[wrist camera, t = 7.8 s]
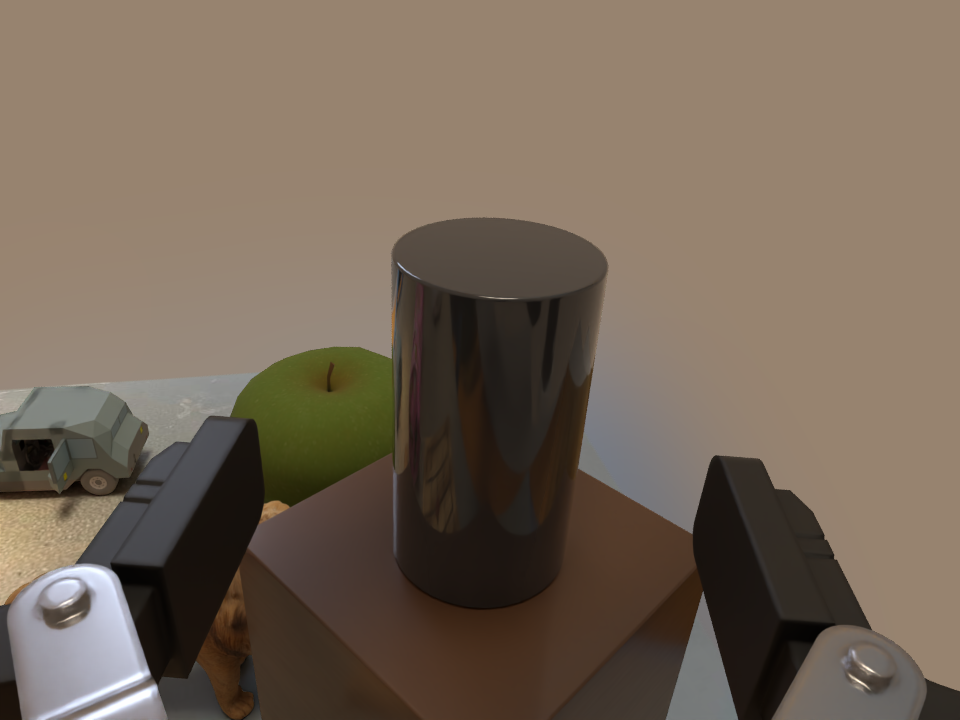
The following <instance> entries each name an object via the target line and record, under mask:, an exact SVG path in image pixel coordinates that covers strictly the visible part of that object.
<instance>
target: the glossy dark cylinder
mask: <svg viewBox="0 0 960 720" xmlns="http://www.w3.org/2000/svg"><path fill="white" fill-rule="evenodd" d="M391 254H392V255H391V257H392V258H391V261H392V262H391V263H392V264H391V267H392V269H391V270H392V272H391V274H392V461H393V549H394V555H395V557H396V560H397V563H398V564H399V566H400V568H401V570H402V571H403V573H404V574H405V575H406V576H407V578H408V579H409V580H410V581H411V582H412V583H413V584H414V585H415V586H417V587H418V588H419V589H421V590H422V591H424V592H425V593H427V594H429V595H430V596H432V597H434V598H436V599H439V600H441V601H444V602H446V603H450V604H454V605H457V606H463V607H468V608H498V607H505V606H509V605H513V604H517V603H519V602H522V601H525V600H527V599H529V598H531V597H533V596H535V595H537V594H538V593H539V592H541V591H542V590H544V589H545V588H546V587H547V586H548V585H549V584H550V583H551V582H552V581H553V580H554V578H555V577H556V576H557V574H558V573H559V571H560V569H561V567H562V564H563V560H564V556H565V550H566V543H567V536H568V530H569V523H570V517H571V510H572V504H573V497H574V491H575V484H576V478H577V471H578V465H579V458H580V452H581V445H582V439H583V432H584V425H585V419H586V412H587V406H588V399H589V393H590V386H591V380H592V373H593V366H594V359H595V353H596V346H597V340H598V334H599V327H600V321H601V314H602V308H603V301H604V295H605V288H606V282H607V275H608V263H607V259H606V257H605V256H604V254H603V253H602V251H601V250H600V249H599V248H598V247H596V246H595V245H593V244H592V243H591V242H589V241H587V240H586V239H584V238H582V237H580V236H578V235H575V234H573V233H570V232H568V231H565V230H562V229H559V228H555V227H552V226H548V225H544V224H539V223H534V222H529V221H522V220H515V219H504V218H464V219H453V220H446V221H441V222H436V223H432V224H427V225H424V226H422V227H419V228H416V229H414V230H411V231H409V232H408V233H406V234H404V235H403V236H402V237H401V238H399V239H398V240H397V242H396V243H395V244H394V247H393V249H392V253H391Z"/></svg>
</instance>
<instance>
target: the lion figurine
mask: <svg viewBox="0 0 960 720" xmlns="http://www.w3.org/2000/svg"><path fill="white" fill-rule="evenodd" d="M288 508H290V507H289V506H288V505H286V504H283V503H281V502H280V501H271V502H269V503H266V504H264V506H263V511H262V515H261V519H260V521H259V524H261V523H262V522H264V521H266V520H268V519H270V518H272V517H274V516H275V515H277V514H279V513H281V512H283V511H285V510H287V509H288ZM259 524H258V525H259ZM44 574H46V573H44ZM44 574H42V575H44ZM42 575H40V576H42ZM40 576H38V577H37V578H39V577H40ZM37 578H35V579H34V580H36V579H37ZM34 580H33V581H34ZM30 583H31V582H30ZM30 583H27V584H25V585H22V586H21V587H19V588H18V589H17V590H15V591H14V592H13V593H12V594H11V595H10V596H9V598H8V599H7V600H6V602H5V604H4V605H7V604H11V603H12V602H13V600H14V599H15V597H16V596H17V595H18V594H19V593H20V592H21V591H22V590H23V589H24V588H25V587H26V586H27V585H29V584H30ZM248 655H252V651H251V645H250V638H249V631H248V624H247V618H246V611H245V604H244V598H243V591H242V584H241V578H240V571H239V567H238V570H237V572H236V574H235V576H234V578H233V580H232V583H231V585H230V587H229V589H228V591H227V594H226V596H225V598H224V600H223V602H222V604H221V607H220V609H219V611H218V613H217V615H216V617H215V620H214V622H213V624H212V626H211V628H210V631H209V633H208V635H207V637H206V639H205V641H204V644H203V646H202V648H201V650H200V652H199V654H198V657H197V659H196V661H197V662H198V663H199V664H200V665H201V667H202V668H203V669H204V670H205V671H206V673H207V675H208V677H209V679H210V681H211V684H212V686H213V688H214V691H215V695H216V698H217V700H218V703H219V705H220V707H221V708H222V710H223V711H224V712H225V713H226V714H227V715H228V716H229V717H230V718H232V719H236V720H237V719H242V718H244V717H245V716H247V715H248V714H249V713H250V712H251V711H252V709H253V707H254V701H253V694H252V693H251V692H244V691H242V688H241V686H240V685H238V683H239V679H240V665H241V664H242V663H243V662H244V660H245V658H246V657H247V656H248Z"/></svg>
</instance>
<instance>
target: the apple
mask: <svg viewBox="0 0 960 720" xmlns="http://www.w3.org/2000/svg"><path fill="white" fill-rule="evenodd" d="M230 417H236V418H249V419H254V420H255V422H256V424H257V428H258V435H259V443H260V452H261V460H262V469H263V477H264V486H265V498H264V503H265V504H266V503H269V502H271V501H280V502H281V503H283V504H286V505H288V506H289V507H292V506H294V505H296V504H298V503H300V502H301V501H303V500H305V499H307V498H309V497H311V496H313V495H314V494H316V493H318V492H320V491H322V490H324V489H326V488H327V487H329V486H331V485H333V484H335V483H337V482H339V481H340V480H342V479H344V478H346V477H348V476H350V475H352V474H353V473H355V472H357V471H359V470H361V469H363V468H365V467H366V466H368V465H370V464H372V463H374V462H376V461H378V460H379V459H381V458H383V457H385V456H387V455H389V454H391V453H392V359H390V358H388V357H385V356H382V355H380V354H377V353H374V352H371V351H369V350H365V349H363V348H360V347H330V348H324V349H316V350H310V351H306V352H303V353H300V354H297V355H294V356H291V357H287V358H285V359H283V360H281V361H278V362H276V363H274V364H272V365H271V366H270V367H268V368H267V369H265V370H264V371H262V372H261V373H259V374H258V375H257V376H255V377H254V378H252V379H251V380H250V382H249V383H248V384H247V386H246V387H245V388H244V389H243V391H242V392H241V393H240V394H239V396H238V397H237V400H236V403H235V405H234V408H233V411H232V413H231V416H230Z"/></svg>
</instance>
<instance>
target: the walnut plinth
mask: <svg viewBox="0 0 960 720" xmlns="http://www.w3.org/2000/svg"><path fill="white" fill-rule="evenodd" d="M239 571H240V578H241V584H242V591H243V598H244V604H245V611H246V618H247V624H248V631H249V638H250V645H251V651H252V658H253V665H254V671H255V678H256V685H257V691H258V698H259V705H260V712H261V718H262V720H666V716H667V713H668V709H669V706H670V702H671V699H672V696H673V692H674V689H675V685H676V682H677V678H678V675H679V672H680V668H681V665H682V661H683V658H684V654H685V651H686V647H687V644H688V641H689V637H690V634H691V630H692V627H693V623H694V620H695V616H696V613H697V610H698V606H699V602H700V599H701V596H702V592H703V588H702V584H701V581H700V577H699V573H698V570H697V566H696V562H695V558H694V553H693V534H691V533H689V532H687V531H685V530H684V529H682V528H681V527H678V526H677V525H675V524H673V523H672V522H670V521H668V520H666V519H665V518H663V517H661V516H660V515H658V514H656V513H654V512H653V511H651V510H649V509H647V508H646V507H644V506H642V505H641V504H639V503H637V502H635V501H634V500H632V499H630V498H628V497H627V496H625V495H623V494H621V493H620V492H618V491H616V490H615V489H613V488H611V487H609V486H608V485H606V484H604V483H602V482H601V481H599V480H597V479H595V478H594V477H592V476H590V475H588V474H587V473H585V472H583V471H581V470H580V469H578V471H577V478H576V484H575V491H574V497H573V504H572V510H571V517H570V523H569V530H568V536H567V543H566V550H565V556H564V560H563V564H562V567H561V569H560V571H559V573H558V574H557V576H556V577H555V578H554V580H553V581H552V582H551V583H550V584H549V585H548V586H547V587H546V588H545V589H544V590H542V591H541V592H539V593H538V594H537V595H535V596H533V597H531V598H529V599H527V600H525V601H522V602H519V603H517V604H513V605H509V606H505V607H498V608H468V607H463V606H457V605H454V604H450V603H446V602H444V601H441V600H439V599H436V598H434V597H432V596H430V595H429V594H427V593H425V592H424V591H422V590H421V589H419V588H418V587H417V586H415V585H414V584H413V583H412V582H411V581H410V580H409V579H408V578H407V576H406V575H405V574H404V573H403V571H402V570H401V568H400V566H399V564H398V563H397V560H396V557H395V555H394V549H393V461H392V453H391V454H389V455H387V456H385V457H383V458H381V459H379V460H378V461H376V462H374V463H372V464H370V465H368V466H366V467H365V468H363V469H361V470H359V471H357V472H355V473H353V474H352V475H350V476H348V477H346V478H344V479H342V480H340V481H339V482H337V483H335V484H333V485H331V486H329V487H327V488H326V489H324V490H322V491H320V492H318V493H316V494H314V495H313V496H311V497H309V498H307V499H305V500H303V501H301V502H300V503H298V504H296V505H294V506H292V507H290V508H288V509H287V510H285V511H283V512H281V513H279V514H277V515H275V516H274V517H272V518H270V519H268V520H266V521H264V522H262V523H261V524H259V525H258V526H257V528H256V530H255V533H254V535H253V537H252V539H251V541H250V543H249V546H248V548H247V550H246V552H245V554H244V557H243V559H242V561H241V563H240V565H239Z"/></svg>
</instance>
